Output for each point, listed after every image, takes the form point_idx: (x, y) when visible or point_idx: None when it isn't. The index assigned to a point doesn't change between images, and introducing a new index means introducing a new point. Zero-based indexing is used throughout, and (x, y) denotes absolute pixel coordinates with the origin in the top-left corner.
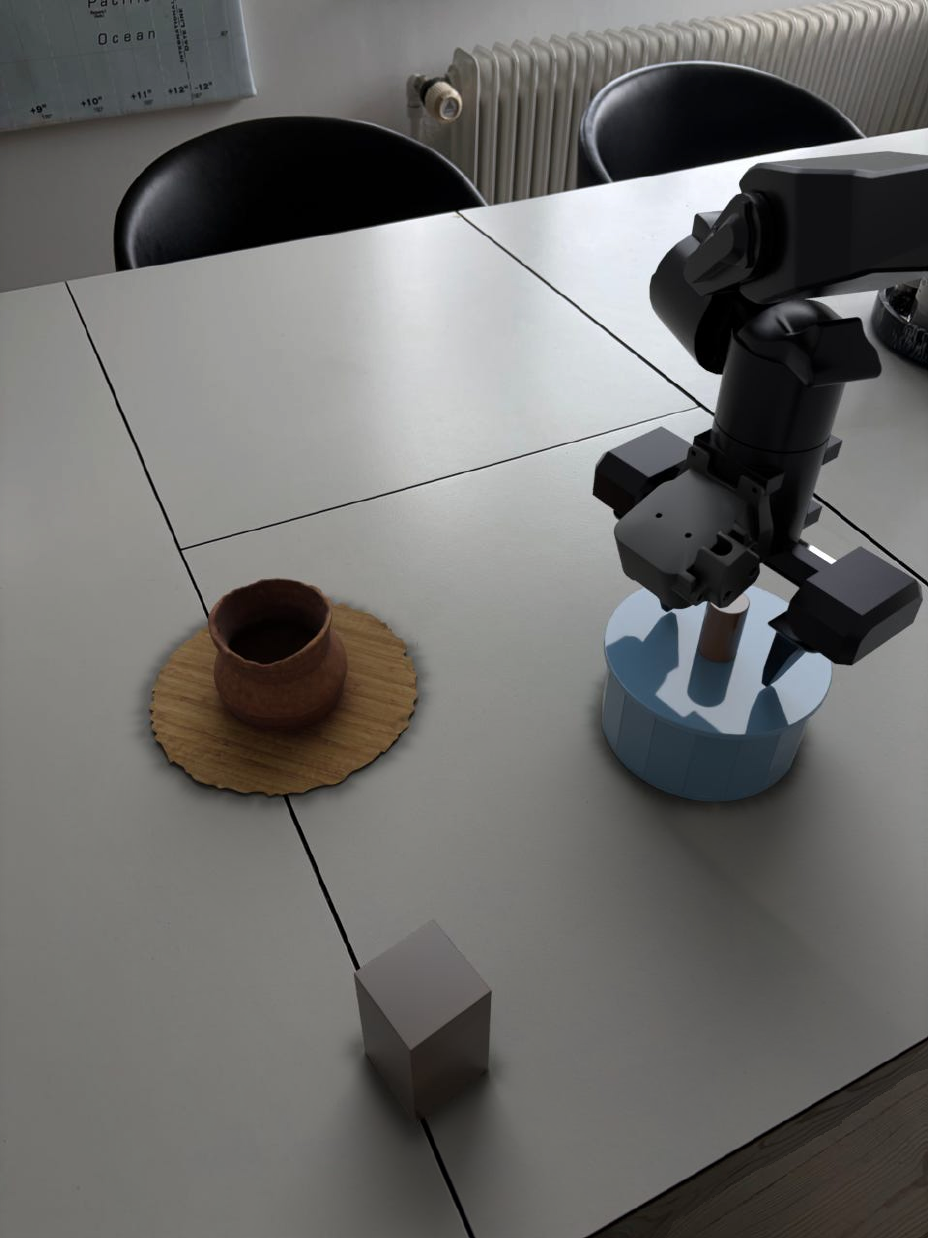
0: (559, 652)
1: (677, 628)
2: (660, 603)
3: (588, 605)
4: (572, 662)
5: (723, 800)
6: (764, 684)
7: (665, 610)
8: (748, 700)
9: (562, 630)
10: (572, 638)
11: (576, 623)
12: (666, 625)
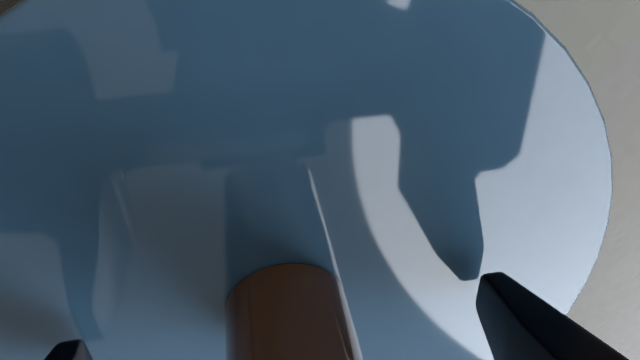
0: (597, 10)
1: (418, 263)
2: (518, 283)
3: (621, 140)
4: (557, 16)
5: None
6: (62, 346)
7: (488, 277)
8: (48, 274)
9: (628, 56)
10: (598, 60)
11: (614, 93)
12: (449, 245)
